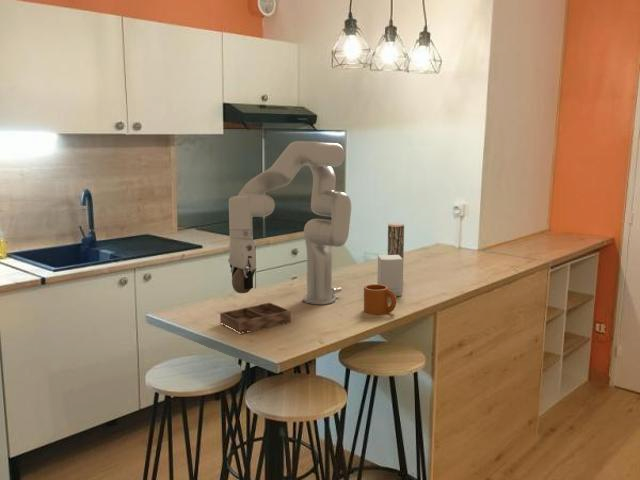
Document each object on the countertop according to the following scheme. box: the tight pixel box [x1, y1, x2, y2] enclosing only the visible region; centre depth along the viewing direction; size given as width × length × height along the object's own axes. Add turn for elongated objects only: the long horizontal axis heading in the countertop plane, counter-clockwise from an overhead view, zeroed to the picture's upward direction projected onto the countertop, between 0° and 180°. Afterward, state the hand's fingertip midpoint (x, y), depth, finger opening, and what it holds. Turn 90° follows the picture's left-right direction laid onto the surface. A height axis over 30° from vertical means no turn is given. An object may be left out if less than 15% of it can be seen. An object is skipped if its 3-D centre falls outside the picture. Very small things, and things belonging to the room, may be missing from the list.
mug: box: [363, 283, 397, 315], centre depth 220 cm, size 9×12×9 cm
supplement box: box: [377, 254, 404, 297], centre depth 244 cm, size 9×9×15 cm
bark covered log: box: [387, 222, 405, 260], centre depth 261 cm, size 7×7×25 cm
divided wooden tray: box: [219, 302, 292, 333], centre depth 208 cm, size 20×13×4 cm, turn 128°
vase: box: [231, 268, 252, 294], centre depth 203 cm, size 7×7×9 cm
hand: (242, 286), depth 203 cm, fingers closed on vase, 6 cm apart
